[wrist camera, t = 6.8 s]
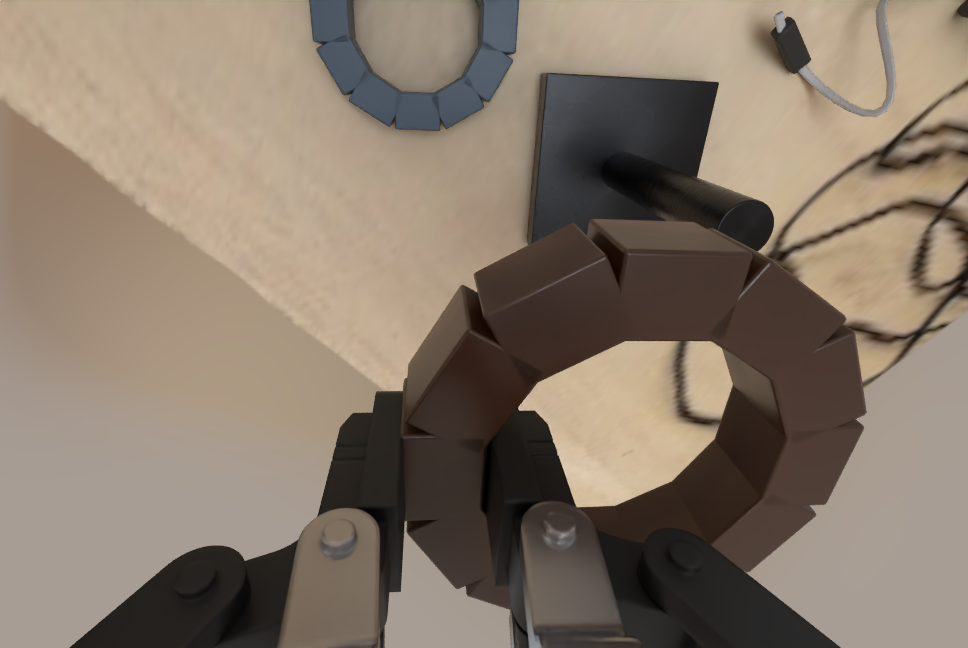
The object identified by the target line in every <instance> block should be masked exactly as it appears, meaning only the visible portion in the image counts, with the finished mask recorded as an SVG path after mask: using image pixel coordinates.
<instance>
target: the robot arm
mask: <svg viewBox="0 0 968 648" xmlns="http://www.w3.org/2000/svg"><path fill="white" fill-rule="evenodd" d="M402 401H403V391H381V392H379V391H377V392H376V395H375V402H374V407H373V413H353V414H352V415H351V416H350V417H349V418H348V419H347V420H346V421H345V423H344V424H343V425H342V426H341V427H340V430H339V434H338V438H337V442H336V447H335V450H334V454H333V460H332V462H331V466H330V469H329V474H328V477H327V481H326V485H325V489H324V493H323V497H322V501H321V505H320V509H319V513H318V516H317V517H316V518H315V519H314V520H312V521H311V522H310V523H309V524H308V525H307V526H306V527H305V528H304V530H303V531H302V533H301V535H300V537H299V539H298V540H297V541H296V542H294V543H292V544H291V545H289V546H287V547H285V548H283V549H281V550H278V551H275V552H272V553H269V554H266V555H263V556H260V557H256V558H253V559H250V560H247V561H244V559H243V557H242V556H241V554H240V553H239V552H237V551H236V550H234V549H232V548H230V547H226V546H206V547H202V548H198V549H195V550H193V551H190V552H188V553H186V554H184V555H182V556H180V557H178V558H177V559H175V560H173V561H172V562H171V563H169V564H168V565H167V566H166V567H165V568H163V569H162V570H161V571H160V572H159V573H157V574H156V575H155V576H154V577H153V578H151V579H150V580H149V581H148V582H147V583H146V584H144V585H143V586H142V587H141V588H140V589H138V590H137V591H136V592H135V593H134V594H133V595H131V596H130V597H129V598H128V599H127V600H125V601H124V602H123V603H122V604H121V605H119V606H118V607H117V608H116V609H115V610H114V611H112V612H111V613H110V614H109V615H108V616H106V617H105V618H104V619H103V620H102V621H101V622H99V623H98V624H97V625H96V626H95V627H93V628H92V629H91V630H90V631H89V632H88V633H86V634H85V635H84V636H83V637H82V638H81V639H79V640H78V641H77V642H76V643H75V644H73V645H72V646H71V647H70V648H385V624H386V621H387V614H388V601H389V592H401V576H402V559H403V540H404V522H405V509H404V458H403V438H400V426H401V413H402ZM484 500H485V507H486V519H487V527H488V535H489V542H490V550H491V558H492V565H493V573H494V581H495V587H497V586H508V587H509V593H510V600H511V608H510V616H509V627H510V641H511V648H840V647H839V646H838V645H837V644H835V643H834V642H833V641H832V640H830V639H829V638H828V637H826V636H825V635H824V634H823V633H821V632H820V631H819V630H818V629H816V628H815V627H814V626H813V625H811V624H810V623H809V622H807V621H806V620H805V619H804V618H803V617H801V616H800V615H799V614H797V613H796V612H795V611H793V610H792V609H791V608H790V607H789V606H787V605H786V604H785V603H784V602H782V601H781V600H779V599H778V598H777V597H776V596H775V595H773V594H772V593H771V592H769V591H768V590H767V589H766V588H764V587H763V586H762V585H761V584H759V583H758V582H757V581H756V580H754V579H753V578H752V577H750V576H749V575H748V574H747V573H745V572H744V571H743V570H742V569H740V568H739V567H738V566H737V565H735V564H734V563H733V562H732V561H730V560H729V559H728V558H726V557H725V556H724V555H723V554H721V553H720V552H719V551H718V550H716V549H715V548H714V547H713V546H711V545H710V544H709V543H707V542H706V541H705V540H703V539H702V538H700V537H699V536H697V535H695V534H693V533H691V532H688V531H685V530H682V529H677V528H661V529H658V530H655V531H653V532H652V533H651V534H649V535H648V537H647V538H646V540H645V543H641V542H636V541H632V540H628V539H624V538H620V537H616V536H613V535H609V534H607V533H605V532H602V531H600V530H599V529H597V528H595V526H594V524H593V522H592V521H591V519H590V518H589V517H588V516H587V515H586V514H585V513H584V512H583V511H582V510H580V509H579V508H577V507H576V505H575V503H574V500H573V497H572V494H571V491H570V488H569V485H568V482H567V479H566V476H565V473H564V470H563V468H562V465H561V462H560V459H559V456H557V450H556V447H555V444H554V443H553V438H552V435H551V433H550V430H549V427H548V424H547V423H546V422H545V421H544V420H543V419H542V418H541V417H540V416H539V415H538V414H537V413H536V412H535V411H519V410H518V408H517V409H516V410H515V412H514V413H513V414H512V416H511V417H510V418H509V419H508V421H507V422H506V423H505V424H504V426H503V427H502V428H501V429H500V431H499V432H498V433H497V434H496V436H495V437H493V438H492V441H491V442H490V443H489V445H488V451H487V464H486V477H485V490H484Z"/></svg>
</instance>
